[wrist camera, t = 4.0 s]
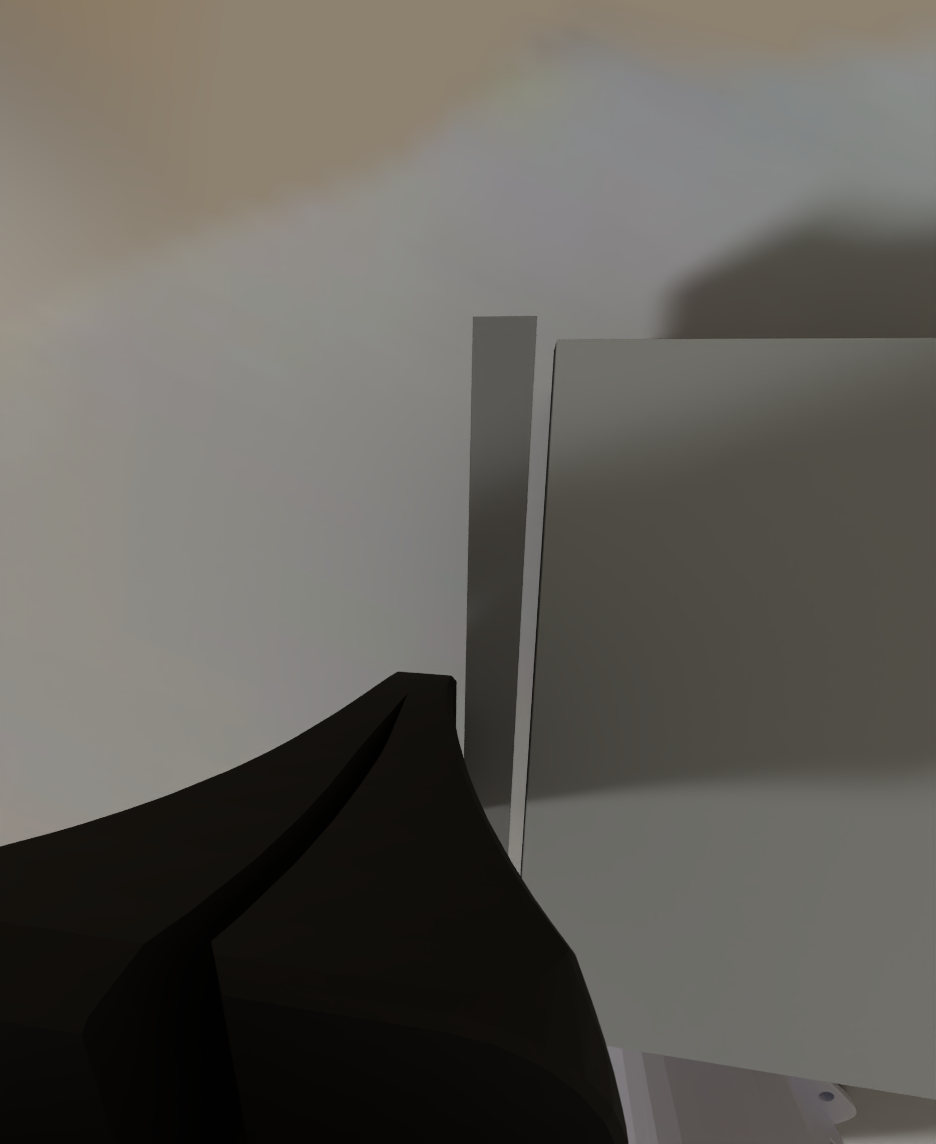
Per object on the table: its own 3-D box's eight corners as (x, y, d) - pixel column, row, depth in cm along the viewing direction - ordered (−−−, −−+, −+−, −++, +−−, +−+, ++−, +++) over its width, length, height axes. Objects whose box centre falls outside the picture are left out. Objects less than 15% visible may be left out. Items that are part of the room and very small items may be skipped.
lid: (1294, 349, 8) (1668, 303, 5) (998, 991, 12) (1128, 1141, 9) (488, 351, 9) (472, 316, 7) (471, 918, 13) (458, 1030, 11)
